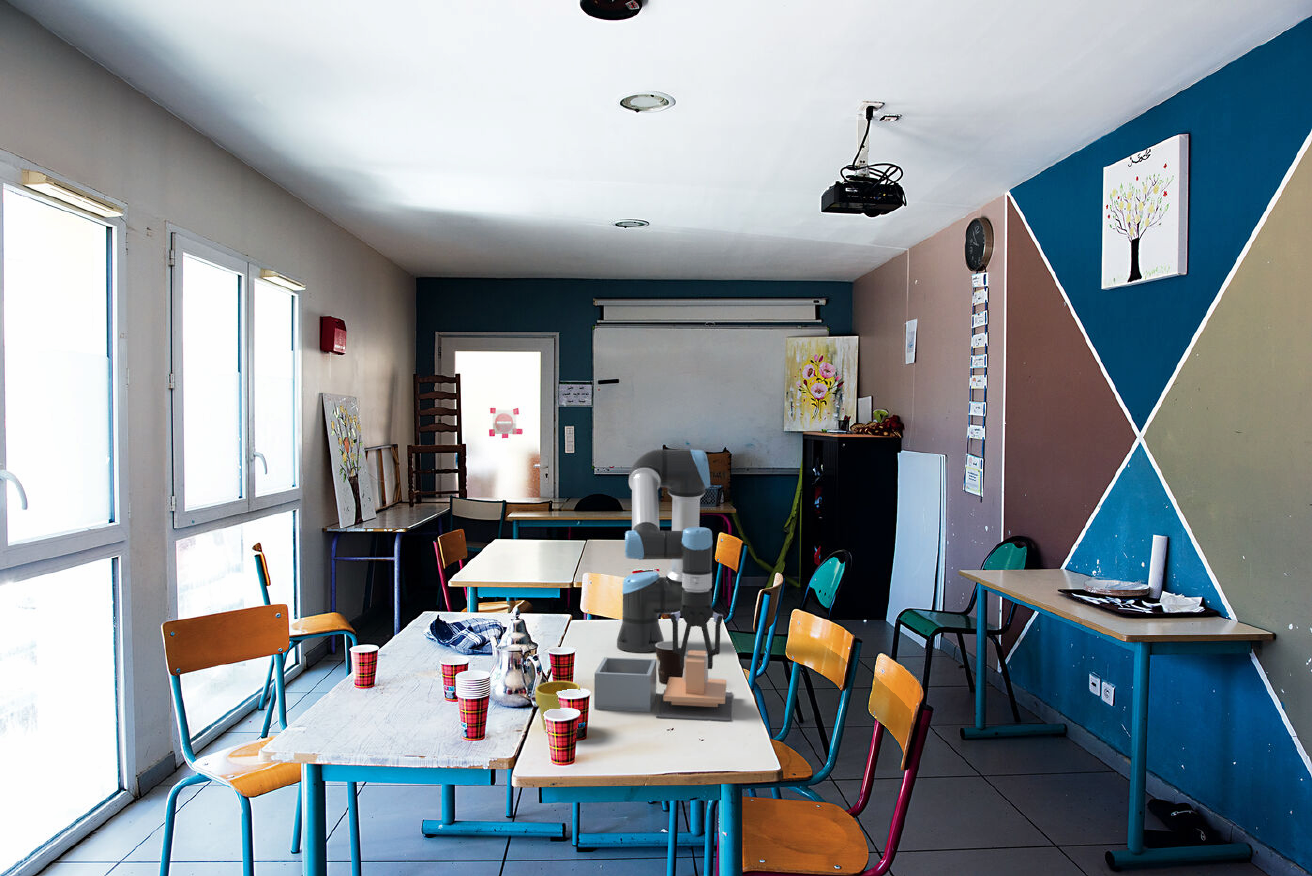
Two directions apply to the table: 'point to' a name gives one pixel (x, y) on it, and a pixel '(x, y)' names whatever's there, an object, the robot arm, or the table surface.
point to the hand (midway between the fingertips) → (696, 680)
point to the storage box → (625, 684)
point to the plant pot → (551, 695)
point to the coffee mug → (668, 661)
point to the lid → (695, 685)
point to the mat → (696, 711)
